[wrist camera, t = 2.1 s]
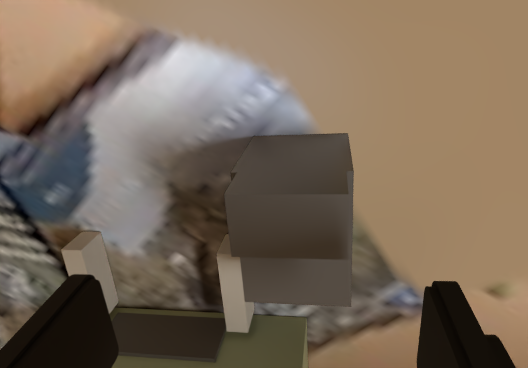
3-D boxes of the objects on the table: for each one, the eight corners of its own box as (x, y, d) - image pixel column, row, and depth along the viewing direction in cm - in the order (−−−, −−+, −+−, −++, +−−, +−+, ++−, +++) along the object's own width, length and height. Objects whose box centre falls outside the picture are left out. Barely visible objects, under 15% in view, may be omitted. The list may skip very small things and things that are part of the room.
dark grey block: (347, 133, 19) (357, 194, 12) (346, 243, 21) (353, 343, 14) (254, 135, 19) (216, 194, 13) (262, 241, 22) (234, 336, 15)
